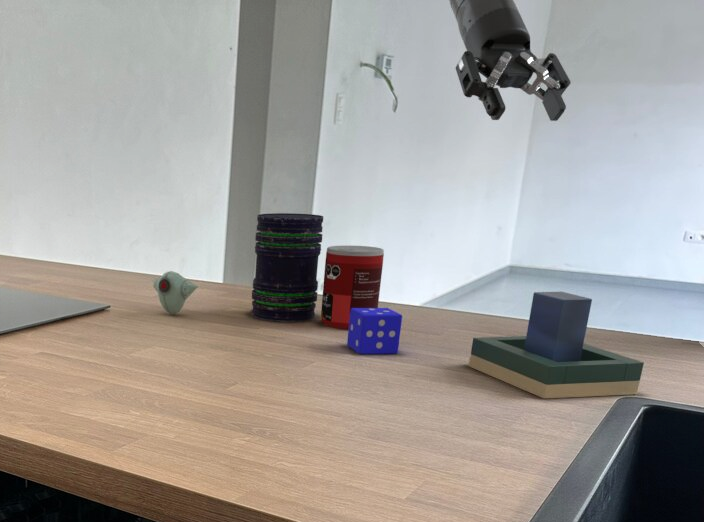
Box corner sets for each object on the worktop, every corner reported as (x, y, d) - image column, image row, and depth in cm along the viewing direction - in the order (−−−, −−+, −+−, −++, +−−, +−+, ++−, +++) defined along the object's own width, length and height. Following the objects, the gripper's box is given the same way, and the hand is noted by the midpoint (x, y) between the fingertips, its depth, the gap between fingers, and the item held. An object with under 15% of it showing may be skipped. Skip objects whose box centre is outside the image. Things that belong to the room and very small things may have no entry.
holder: (551, 363, 104) (556, 334, 103) (637, 394, 91) (644, 362, 90) (468, 366, 103) (472, 337, 101) (543, 398, 90) (549, 366, 88)
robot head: (199, 316, 131) (201, 272, 129) (182, 320, 129) (184, 274, 126) (159, 310, 137) (160, 267, 134) (142, 313, 134) (143, 269, 132)
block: (549, 360, 99) (561, 291, 96) (578, 371, 94) (592, 298, 92) (521, 361, 99) (533, 292, 96) (549, 372, 94) (563, 299, 91)
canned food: (326, 317, 131) (332, 244, 127) (379, 322, 128) (388, 247, 124) (314, 326, 125) (321, 249, 121) (371, 331, 121) (379, 252, 118)
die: (398, 354, 109) (402, 314, 107) (359, 354, 108) (363, 315, 107) (383, 345, 113) (388, 307, 112) (346, 345, 113) (350, 307, 111)
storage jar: (284, 307, 139) (291, 212, 134) (329, 317, 131) (338, 216, 126) (237, 313, 134) (242, 214, 129) (280, 324, 126) (288, 219, 121)
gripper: (458, 4, 115) (494, 92, 108) (553, 7, 117) (595, 93, 111) (432, 51, 122) (465, 137, 115) (523, 53, 124) (561, 137, 117)
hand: (529, 115), depth 113 cm, fingers open, 8 cm apart
